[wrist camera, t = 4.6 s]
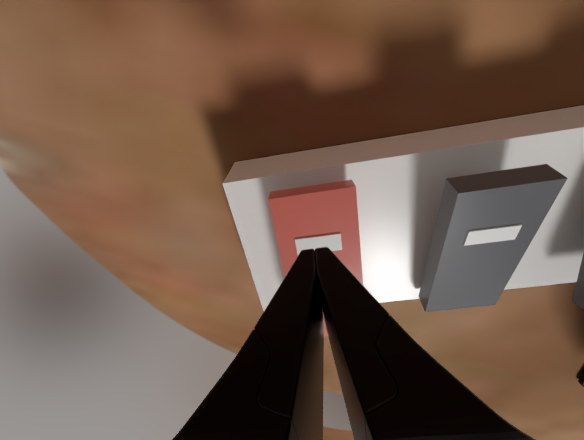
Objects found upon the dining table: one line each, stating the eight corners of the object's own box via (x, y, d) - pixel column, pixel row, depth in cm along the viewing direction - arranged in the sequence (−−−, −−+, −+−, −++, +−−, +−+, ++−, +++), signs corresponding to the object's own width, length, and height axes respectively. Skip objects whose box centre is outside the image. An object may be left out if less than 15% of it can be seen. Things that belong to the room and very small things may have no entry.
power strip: (702, 230, 17) (775, 261, 14) (269, 281, 20) (264, 314, 17) (818, 66, 12) (955, 69, 10) (235, 162, 15) (222, 183, 13)
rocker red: (362, 318, 15) (367, 334, 14) (298, 325, 15) (297, 340, 14) (351, 179, 12) (356, 187, 11) (270, 191, 12) (267, 200, 11)
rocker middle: (484, 289, 15) (495, 306, 14) (418, 296, 16) (425, 313, 15) (546, 163, 10) (569, 179, 9) (446, 178, 10) (459, 194, 10)
